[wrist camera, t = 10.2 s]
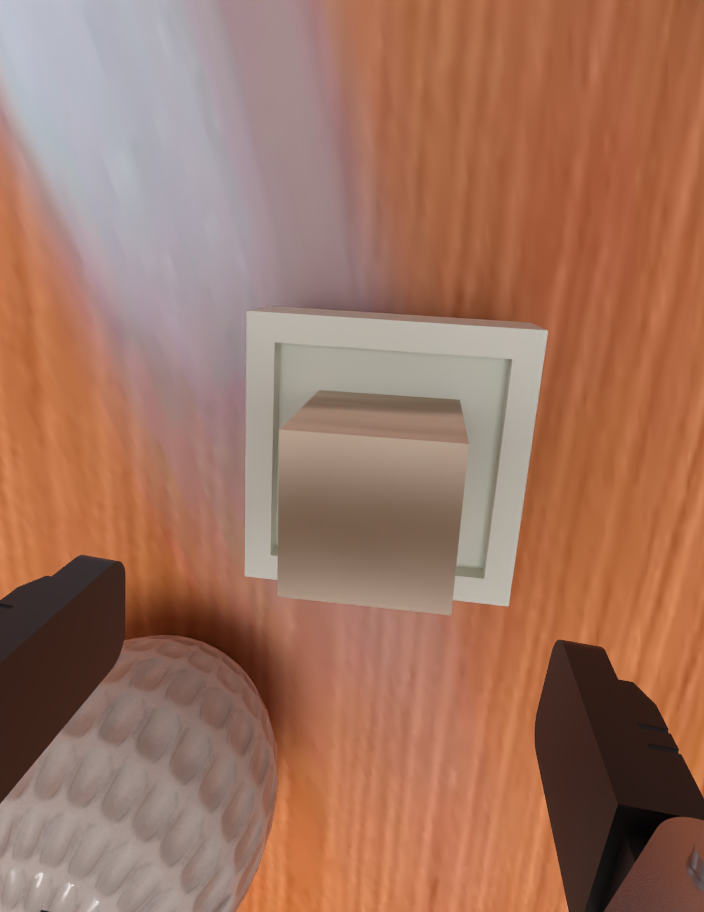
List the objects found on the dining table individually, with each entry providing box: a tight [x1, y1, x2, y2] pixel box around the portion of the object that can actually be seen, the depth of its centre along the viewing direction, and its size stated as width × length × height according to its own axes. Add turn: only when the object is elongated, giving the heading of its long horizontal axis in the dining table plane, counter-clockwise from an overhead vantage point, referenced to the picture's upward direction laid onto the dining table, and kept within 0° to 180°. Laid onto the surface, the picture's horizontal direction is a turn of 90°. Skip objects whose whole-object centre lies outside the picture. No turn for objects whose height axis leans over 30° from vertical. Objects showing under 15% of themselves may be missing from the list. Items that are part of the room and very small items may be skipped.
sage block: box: [245, 306, 548, 606], centre depth 24 cm, size 10×10×4 cm
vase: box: [0, 635, 278, 912], centre depth 27 cm, size 13×13×17 cm
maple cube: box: [277, 390, 469, 615], centre depth 20 cm, size 5×5×6 cm
